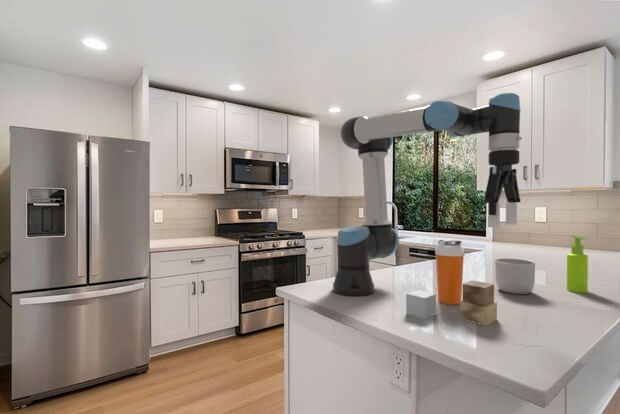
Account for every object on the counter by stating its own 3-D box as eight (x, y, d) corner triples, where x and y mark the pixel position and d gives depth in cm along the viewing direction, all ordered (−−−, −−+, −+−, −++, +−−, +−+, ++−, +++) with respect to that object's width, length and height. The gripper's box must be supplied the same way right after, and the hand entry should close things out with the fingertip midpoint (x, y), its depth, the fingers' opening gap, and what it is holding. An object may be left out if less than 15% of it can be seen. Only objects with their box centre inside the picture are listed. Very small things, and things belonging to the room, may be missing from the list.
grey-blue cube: (406, 313, 98) (406, 293, 98) (417, 309, 102) (417, 289, 102) (424, 319, 93) (424, 298, 93) (435, 314, 97) (435, 294, 97)
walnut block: (462, 301, 93) (462, 283, 93) (471, 297, 97) (472, 280, 97) (485, 306, 89) (485, 288, 89) (493, 302, 93) (494, 284, 92)
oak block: (460, 319, 93) (460, 301, 93) (471, 313, 98) (471, 296, 98) (486, 326, 88) (486, 307, 88) (496, 319, 93) (496, 302, 92)
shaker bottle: (467, 306, 104) (467, 242, 103) (437, 305, 105) (437, 242, 105) (460, 298, 112) (460, 239, 112) (432, 297, 114) (432, 238, 114)
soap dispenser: (570, 292, 118) (571, 236, 118) (564, 287, 124) (564, 234, 124) (591, 294, 116) (592, 237, 115) (583, 289, 122) (584, 235, 122)
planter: (512, 285, 128) (512, 257, 128) (543, 294, 116) (543, 263, 116) (487, 288, 124) (487, 259, 124) (517, 297, 113) (517, 265, 112)
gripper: (502, 144, 83) (501, 229, 83) (532, 153, 99) (531, 224, 100) (471, 147, 88) (470, 227, 89) (504, 155, 105) (504, 222, 105)
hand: (502, 225), depth 94 cm, fingers open, 13 cm apart
